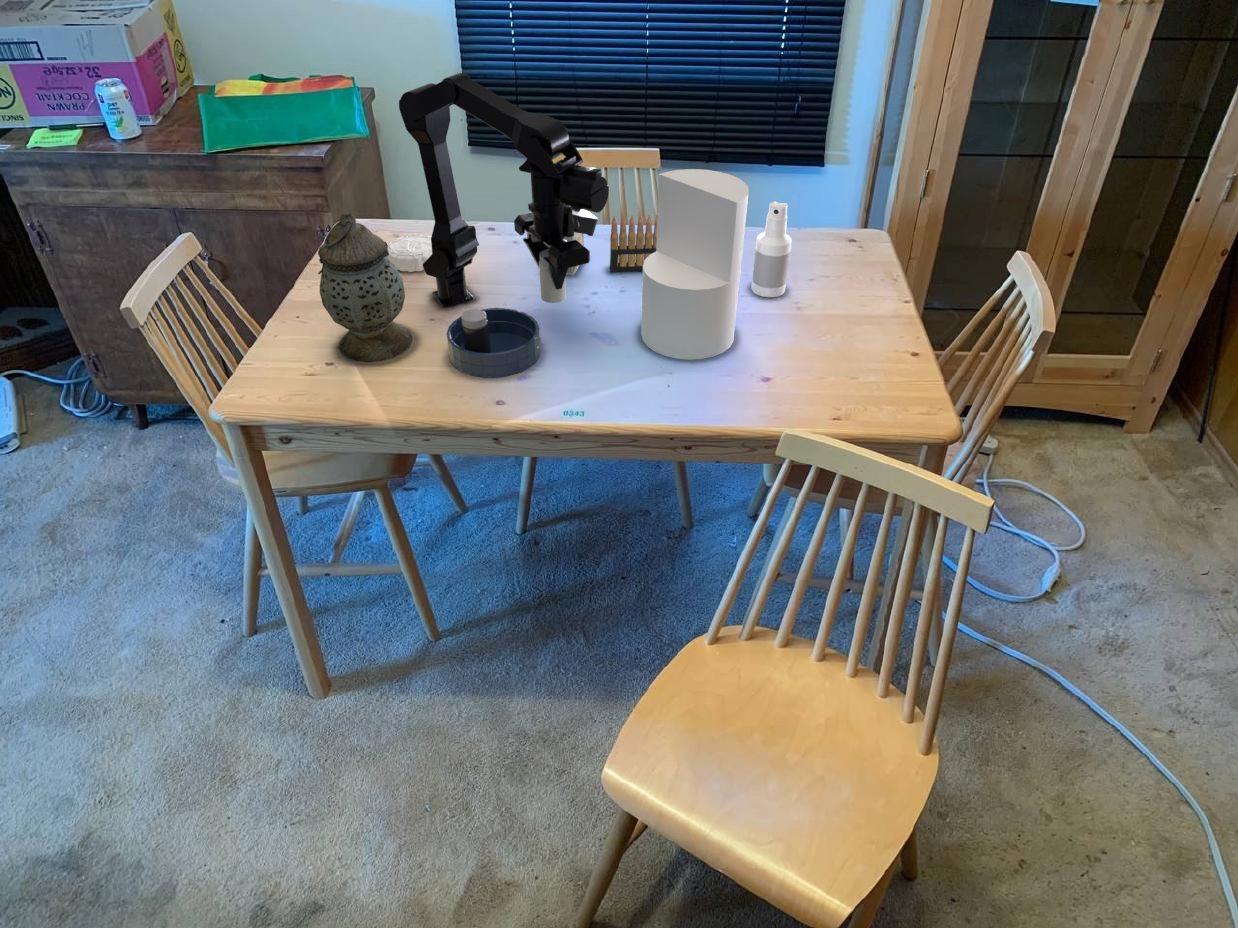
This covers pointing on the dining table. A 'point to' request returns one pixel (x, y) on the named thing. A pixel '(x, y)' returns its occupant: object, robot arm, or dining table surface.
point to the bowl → (498, 345)
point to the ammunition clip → (631, 245)
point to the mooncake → (410, 252)
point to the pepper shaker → (476, 331)
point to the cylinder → (694, 264)
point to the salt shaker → (549, 283)
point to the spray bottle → (772, 254)
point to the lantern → (363, 292)
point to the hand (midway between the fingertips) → (552, 283)
